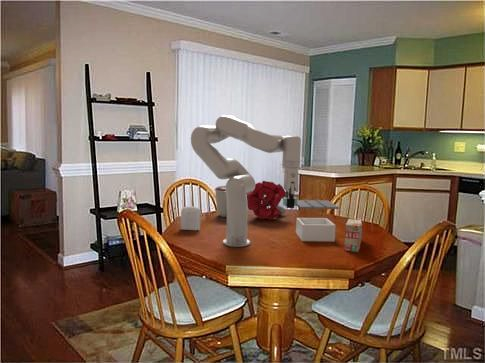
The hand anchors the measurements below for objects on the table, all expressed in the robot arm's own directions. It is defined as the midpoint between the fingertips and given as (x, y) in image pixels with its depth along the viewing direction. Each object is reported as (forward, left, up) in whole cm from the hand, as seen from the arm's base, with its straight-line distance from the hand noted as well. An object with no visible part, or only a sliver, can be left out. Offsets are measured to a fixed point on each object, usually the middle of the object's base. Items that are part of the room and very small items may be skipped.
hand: (289, 206), depth 177 cm
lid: (0, -8, +1) cm, 8 cm away
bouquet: (+68, 0, -20) cm, 71 cm away
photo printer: (+38, +45, -20) cm, 62 cm away
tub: (+25, -18, -20) cm, 37 cm away
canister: (+74, +24, -20) cm, 80 cm away
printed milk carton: (+11, -33, -20) cm, 40 cm away
